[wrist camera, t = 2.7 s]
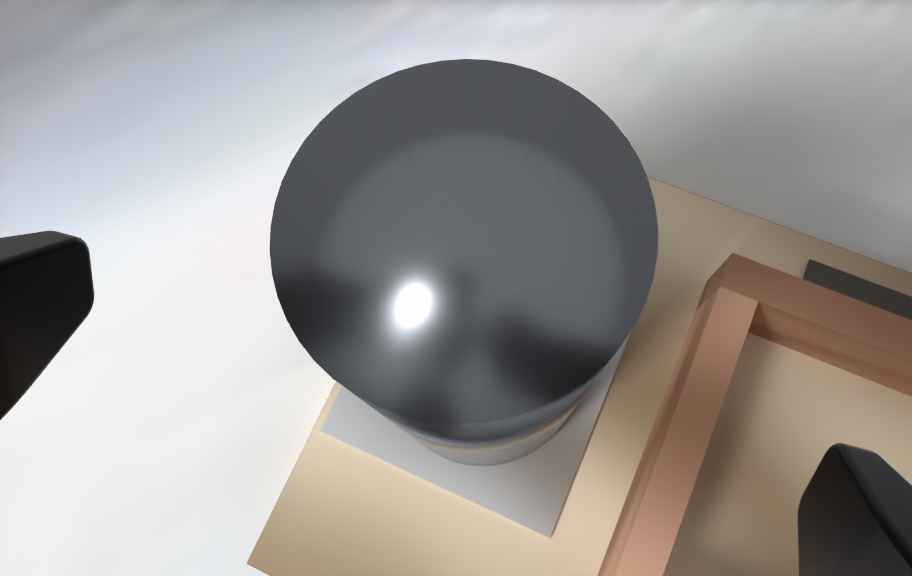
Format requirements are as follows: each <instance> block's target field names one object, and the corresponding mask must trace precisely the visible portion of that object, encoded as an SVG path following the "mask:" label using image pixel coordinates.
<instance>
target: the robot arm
mask: <svg viewBox="0 0 912 576" xmlns="http://www.w3.org/2000/svg"><path fill="white" fill-rule="evenodd" d="M93 302H94V288H93V280H92V271H91V262H90V254H89V248H88V246H87V244H86V243H85V242H84V241H83V240H82V239H81V238H78V237H75V236H71V235H68V234H64V233H60V232H56V231H44V232H37V233H31V234H24V235H17V236H11V237H4V238H0V420H1V419H2V418H3V417H4V416H5V415H6V414H7V413H8V412H9V411H10V410H11V409H12V407H13V406H14V405H15V404H16V403H17V402H18V401H19V400H20V398H21V397H22V396H23V395H24V394H25V392H26V391H27V390H28V389H29V388H30V386H31V385H32V384H33V383H34V381H35V380H36V379H37V378H38V377H39V375H40V374H41V373H42V372H43V370H44V369H45V368H46V367H47V365H48V364H49V363H50V362H51V360H52V359H53V358H54V357H55V355H56V354H57V353H58V352H59V351H60V349H61V348H62V347H63V346H64V344H65V343H66V342H67V341H68V339H69V338H70V337H71V336H72V334H73V333H74V332H75V331H76V329H77V328H78V327H79V326H80V325H81V323H82V322H83V321H84V320H85V318H86V317H87V316H88V314H89V312H90V310H91V309H92V306H93ZM797 522H798V562H799V576H912V485H911V484H910V483H909V482H908V481H907V480H905V479H904V478H903V477H902V476H901V475H900V474H899V473H898V472H897V471H896V470H895V469H894V468H892V467H891V466H890V465H889V464H888V463H887V462H886V461H885V460H884V459H883V458H882V457H881V456H879V455H878V454H877V453H875V452H873V451H870V450H866V449H862V448H859V447H855V446H851V445H847V444H843V443H836V444H834V445H832V446H831V447H830V448H829V449H828V450H827V451H826V453H825V454H824V456H823V458H822V460H821V462H820V463H819V465H818V467H817V469H816V471H815V473H814V474H813V476H812V478H811V480H810V482H809V484H808V485H807V487H806V489H805V491H804V493H803V495H802V497H801V500H800V503H799V507H798V515H797Z"/></svg>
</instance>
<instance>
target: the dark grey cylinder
mask: <svg viewBox="0 0 912 576" xmlns="http://www.w3.org/2000/svg"><path fill="white" fill-rule="evenodd" d="M657 255H658V222H657V215H656V207H655V202H654V198H653V194H652V191H651V187H650V183H649V180H648V178H647V176H646V173H645V171H644V169H643V166H642V164H641V162H640V160H639V158H638V156H637V155H636V153H635V151H634V150H633V148H632V146H631V145H630V143H629V141H628V140H627V138H626V137H625V136H624V135H623V133H622V132H621V131H620V130H619V128H618V127H617V126H616V125H615V123H614V122H613V121H612V120H611V119H610V118H609V117H608V116H607V115H606V114H605V113H604V112H603V111H602V110H601V109H600V108H599V107H598V106H597V105H595V104H594V103H593V102H591V101H590V100H589V99H587V98H586V97H585V96H583V95H582V94H581V93H579V92H578V91H576V90H575V89H573V88H571V87H569V86H567V85H566V84H564V83H562V82H560V81H559V80H557V79H555V78H552V77H550V76H547V75H545V74H543V73H540V72H538V71H535V70H532V69H528V68H525V67H521V66H518V65H514V64H509V63H503V62H497V61H491V60H473V59H461V60H446V61H438V62H433V63H428V64H422V65H418V66H414V67H411V68H408V69H404V70H401V71H398V72H395V73H393V74H391V75H388V76H386V77H384V78H381V79H379V80H377V81H375V82H373V83H371V84H369V85H368V86H366V87H364V88H362V89H361V90H359V91H357V92H356V93H354V94H353V95H351V96H350V97H349V98H347V99H346V100H345V101H343V102H342V103H341V104H339V105H338V106H337V107H335V108H334V109H333V110H332V111H331V112H330V113H329V114H328V115H327V116H326V117H325V118H324V119H323V120H322V121H321V122H320V123H319V124H318V125H317V126H316V127H315V129H314V130H313V131H312V132H311V133H310V135H309V136H308V137H307V138H306V139H305V141H304V142H303V144H302V145H301V147H300V148H299V150H298V152H297V153H296V155H295V156H294V158H293V159H292V161H291V163H290V166H289V168H288V170H287V172H286V174H285V176H284V178H283V180H282V183H281V186H280V189H279V192H278V196H277V199H276V202H275V206H274V211H273V217H272V223H271V234H270V257H271V267H272V275H273V279H274V284H275V288H276V292H277V296H278V299H279V301H280V304H281V306H282V309H283V311H284V314H285V316H286V319H287V321H288V323H289V324H290V326H291V328H292V330H293V331H294V333H295V335H296V337H297V338H298V340H299V342H300V343H301V344H302V345H303V347H304V348H305V349H306V351H307V352H308V353H309V354H310V356H311V357H312V358H313V360H314V361H315V362H316V363H317V364H318V365H319V366H320V367H321V368H322V369H323V370H324V371H325V372H327V373H328V374H329V375H330V376H331V377H332V378H333V379H334V380H335V381H337V382H338V383H339V384H341V385H342V386H344V387H345V388H346V389H348V390H349V391H350V392H352V393H353V394H354V395H356V396H357V397H358V398H360V399H361V400H362V401H364V402H365V403H367V404H368V405H369V406H371V407H372V408H373V409H375V410H376V411H377V412H379V413H380V414H381V415H383V416H384V417H385V418H387V419H388V420H389V421H391V422H392V423H394V424H395V425H396V426H398V427H399V428H400V429H402V430H403V431H404V432H406V433H407V434H408V435H410V436H411V437H412V438H414V439H415V440H417V441H418V442H419V443H421V444H422V445H423V446H425V447H426V448H427V449H429V450H430V451H432V452H433V453H435V454H437V455H439V456H441V457H443V458H445V459H448V460H451V461H453V462H457V463H461V464H465V465H473V466H494V465H500V464H506V463H509V462H512V461H515V460H518V459H520V458H523V457H525V456H527V455H529V454H531V453H532V452H534V451H535V450H537V449H538V448H540V447H541V446H543V445H544V444H545V443H546V442H547V441H548V440H549V439H551V438H552V436H553V435H554V434H555V433H556V432H557V431H558V430H559V428H560V427H561V426H562V424H563V423H564V422H565V420H566V419H567V418H568V416H569V415H570V414H571V412H572V411H573V410H574V408H575V407H576V406H577V404H578V403H579V402H580V400H581V399H582V398H583V396H584V395H585V394H586V392H587V391H588V390H589V388H590V387H591V386H592V384H593V383H594V382H595V380H596V379H597V378H598V376H599V375H600V374H601V372H602V371H603V370H604V368H605V367H606V366H607V364H608V363H609V362H610V360H611V359H612V358H613V356H614V355H615V353H616V352H617V351H618V349H619V348H620V347H621V345H622V344H623V342H624V341H625V339H626V338H627V336H628V335H629V333H630V332H631V330H632V329H633V327H634V326H635V324H636V322H637V320H638V318H639V316H640V314H641V312H642V309H643V307H644V305H645V303H646V301H647V298H648V295H649V291H650V288H651V285H652V282H653V279H654V274H655V267H656V261H657Z"/></svg>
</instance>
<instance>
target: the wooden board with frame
mask: <svg viewBox="0 0 912 576" xmlns="http://www.w3.org/2000/svg"><path fill="white" fill-rule="evenodd" d="M647 178H648V180H649V183H650V187H651V191H652V194H653V198H654V202H655V207H656V215H657V222H658V255H657V261H656V267H655V274H654V279H653V282H652V285H651V288H650V291H649V295H648V298H647V301H646V303H645V305H644V307H643V309H642V312H641V314H640V316H639V318H638V320H637V322H636V324H635V326H634V327H633V329H632V330H631V332H630V333H629V335H628V336H627V338H626V339H625V341H624V342H623V344H622V345H621V347H620V348H619V349H618V351H617V352H616V353H615V355H614V356H613V358H612V359H611V360H610V362H609V363H608V364H607V366H606V367H605V368H604V370H603V371H602V372H601V374H600V375H599V376H598V378H597V379H596V380H595V382H594V383H593V384H592V386H591V387H590V388H589V390H588V391H587V392H586V394H585V395H584V396H583V398H582V399H581V400H580V402H579V403H578V404H577V406H576V407H575V408H574V410H573V411H572V412H571V414H570V415H569V416H568V418H567V419H566V420H565V422H564V423H563V424H562V426H561V427H560V428H559V430H558V431H557V432H556V433H555V434H554V435H553V436H552V438H551V439H549V440H548V441H547V442H546V443H545V444H544V445H543V446H541V447H540V448H538V449H537V450H535V451H534V452H532V453H531V454H529V455H527V456H525V457H523V458H520V459H518V460H515V461H512V462H509V463H506V464H500V465H494V466H473V465H465V464H461V463H457V462H453V461H451V460H448V459H445V458H443V457H441V456H439V455H437V454H435V453H433V452H432V451H430V450H429V449H427V448H426V447H425V446H423V445H422V444H421V443H419V442H418V441H417V440H415V439H414V438H412V437H411V436H410V435H408V434H407V433H406V432H404V431H403V430H402V429H400V428H399V427H398V426H396V425H395V424H394V423H392V422H391V421H389V420H388V419H387V418H385V417H384V416H383V415H381V414H380V413H379V412H377V411H376V410H375V409H373V408H372V407H371V406H369V405H368V404H367V403H365V402H364V401H362V400H361V399H360V398H358V397H357V396H356V395H354V394H353V393H352V392H350V391H349V390H348V389H346V388H345V387H344V386H342V385H341V384H339V383H338V382H337V381H336V383H335V385H334V387H333V389H332V391H331V393H330V395H329V397H328V399H327V401H326V403H325V405H324V407H323V409H322V411H321V413H320V415H319V417H318V419H317V421H316V423H315V425H314V427H313V429H312V431H311V433H310V435H309V438H308V440H307V442H306V444H305V446H304V448H303V450H302V452H301V454H300V456H299V458H298V460H297V462H296V464H295V466H294V468H293V470H292V472H291V474H290V476H289V478H288V480H287V482H286V484H285V486H284V488H283V490H282V493H281V495H280V497H279V499H278V501H277V503H276V505H275V507H274V509H273V511H272V513H271V515H270V517H269V519H268V521H267V523H266V525H265V527H264V529H263V531H262V533H261V535H260V537H259V539H258V541H257V543H256V545H255V548H254V550H253V552H252V554H251V556H250V558H249V560H248V562H247V564H248V565H250V566H252V567H254V568H256V569H258V570H260V571H262V572H264V573H266V574H268V575H270V576H799V562H798V522H797V515H798V507H799V503H800V500H801V497H802V495H803V493H804V491H805V489H806V487H807V485H808V484H809V482H810V480H811V478H812V476H813V474H814V473H815V471H816V469H817V467H818V465H819V463H820V462H821V460H822V458H823V456H824V454H825V453H826V451H827V450H828V449H829V448H830V447H831V446H832V445H834V444H836V443H843V444H847V445H851V446H855V447H859V448H862V449H866V450H870V451H873V452H875V453H877V454H878V455H879V456H881V457H882V458H883V459H884V460H885V461H886V462H887V463H888V464H889V465H890V466H891V467H892V468H894V469H895V470H896V471H897V472H898V473H899V474H900V475H901V476H902V477H903V478H904V479H905V480H907V481H908V482H909V483H910V484H911V485H912V273H909V272H907V271H904V270H901V269H898V268H896V267H893V266H890V265H888V264H885V263H882V262H879V261H877V260H874V259H871V258H868V257H866V256H863V255H860V254H857V253H855V252H852V251H849V250H846V249H844V248H841V247H838V246H836V245H833V244H830V243H827V242H825V241H822V240H819V239H816V238H814V237H811V236H808V235H805V234H803V233H800V232H797V231H794V230H792V229H789V228H786V227H784V226H781V225H778V224H775V223H773V222H770V221H767V220H764V219H762V218H759V217H756V216H753V215H751V214H748V213H745V212H742V211H740V210H737V209H734V208H732V207H729V206H726V205H723V204H721V203H718V202H715V201H712V200H710V199H707V198H704V197H701V196H699V195H696V194H693V193H690V192H688V191H685V190H682V189H680V188H677V187H674V186H671V185H669V184H666V183H663V182H660V181H658V180H655V179H652V178H649V177H647Z"/></svg>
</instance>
